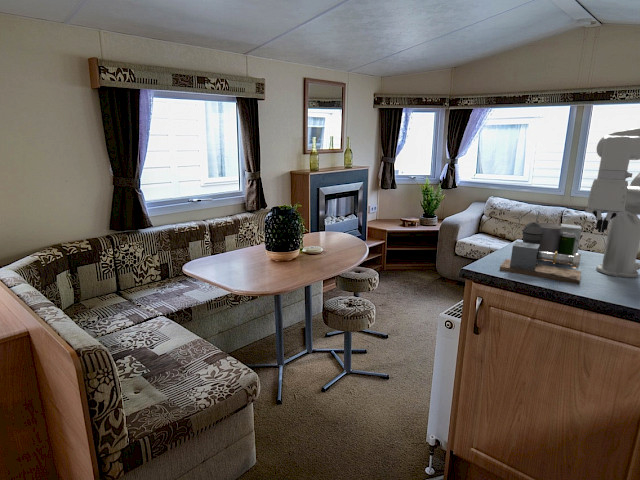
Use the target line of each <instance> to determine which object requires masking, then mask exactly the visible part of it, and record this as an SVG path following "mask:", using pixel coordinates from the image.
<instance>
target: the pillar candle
mask: <svg viewBox="0 0 640 480" xmlns="http://www.w3.org/2000/svg"><path fill="white" fill-rule="evenodd" d="M537 223H538V224H539V225H540V226H541V227H542V229H543V235H542V238H541V240H540V249H539V251H543V252H550V253H555V251H558V245H559V239H560V234H561V230H562V227H561V226H560V224H555V223H550V222H549V221H548V222H537ZM538 261H542V262H548V261H547V260H540V259H538Z"/></svg>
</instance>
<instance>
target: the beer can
mask: <svg viewBox="0 0 640 480" xmlns="http://www.w3.org/2000/svg"><path fill="white" fill-rule="evenodd" d="M575 240H576V234H575V233H571V232H561V234H560V239H559V245H558V253H557V254H564V255H570V256H573V252H574V246H575ZM556 263H557V264H559V265H563V266H568V265H571V264H566V263H559V262H556Z"/></svg>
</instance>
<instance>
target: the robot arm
mask: <svg viewBox="0 0 640 480" xmlns="http://www.w3.org/2000/svg"><path fill="white" fill-rule="evenodd" d="M596 154H597V155H598V156H599V158H600V162H599V168H598V174H597V176H596V177H597V178H594V179H593V181H592V184H591V188H590V191H589V195H588V200H587V207H585V212H586V213H588V214H591V215H593V216H594V217H595V218H596V219H597V220H596V225H595V226H596V227H595V229H596V230H597V233H604V232H605V231H607V230H608V232H607V233H608V234H607V239H606V243H605V249H604V254H603V259H602V263H600V264H598V265H596V269H595V270H596V271H598V272H600V273H602V274H605V275H609V276H613V277H618V278H619V277H620V278H630V279H633V278H637V277H638V276H639V272H638V271H639V270H640V262H637V255H638V250H639V248H640V217H639V216H640V172H639V173H637V175H636V176H635V177H634V178H633V173H632V172H631V173H630V172H629V171H628V169H629V164H630V161H639V160H640V127H635V128H631V129H625V130H619V131H613V132H611V133H608V134H606V135H604V136H603V137H601V138H600V140H599V141H598V143H597V145H596ZM629 178H633V179H632V180H631V182H630V184H629V181H628V180H627V179H629ZM602 212H606V216H605V217H604V218H603V217H602ZM609 222H610V223H609ZM608 225H609V228H608Z"/></svg>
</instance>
